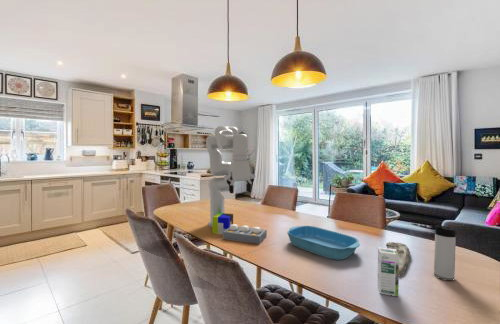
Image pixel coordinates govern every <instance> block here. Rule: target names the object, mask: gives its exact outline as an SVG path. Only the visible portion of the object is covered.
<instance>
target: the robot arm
mask: <svg viewBox="0 0 500 324" xmlns="http://www.w3.org/2000/svg"><path fill="white" fill-rule="evenodd" d="M205 145H206V149H207V153H208V155H209V170H210V174H211V176H214V178H213V177H212V178H211V179H210V180H209V181H208V189H209V190H208V191H209V200H210V202H209V210H210V211H209V214H210V215H209V216H210V219H209V222H208V223H207V226H208V227H211V228H213V216H215V215H216V214H217V213H225V208H226V207H225V197H224V195H223V193H225V192H226V193H227V192H229V193H230V194H234V190H235V187H236V185H235V184H236V182H246V185H245V186H246V187H245V188H246V192H248V193H251V190H252V184H253V182H254V181H255V178H256V175H255V174H254V173H252V172H251V167H250V163H249V159H250V158H251V157H250V156H249V155H248V135H247V134H245V133H239V129H238V128H237V127H236V126H234V125H233V126H232V125H219V126H217V127H216V128H215V129H214V134H212V135H209V136H207V138H206V141H205ZM219 149H221V150H222V149H223V150H232V161H224V160H223V154H222V152H221V151H220V150H219ZM222 176H223V177H222Z"/></svg>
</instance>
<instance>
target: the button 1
mask: <svg viewBox="0 0 500 324" xmlns="http://www.w3.org/2000/svg"><path fill="white" fill-rule="evenodd" d="M238 227H239V224H236V223H233V224H231V225H230V231H237V230H238Z"/></svg>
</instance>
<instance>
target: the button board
mask: <svg viewBox="0 0 500 324" xmlns="http://www.w3.org/2000/svg"><path fill="white" fill-rule="evenodd" d="M267 232H268V230H267V229H261V228H260V234H254V233H253V227H249V232H248V233H246V232H241V226H238V230H237V231H230V227H229V228H228V229H226V230H225V231H223V234H222V240H229V241H235V242H243V243H249V244H250V243H251V244H258V245H260V244H262V243H263V241H264V240H265V239H266V238H267V237H268V236H267Z"/></svg>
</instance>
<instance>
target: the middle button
mask: <svg viewBox="0 0 500 324" xmlns="http://www.w3.org/2000/svg"><path fill="white" fill-rule="evenodd" d="M240 227H241V232H246V233H248V232H249V228H250V227H249V225H241V226H240Z"/></svg>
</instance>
